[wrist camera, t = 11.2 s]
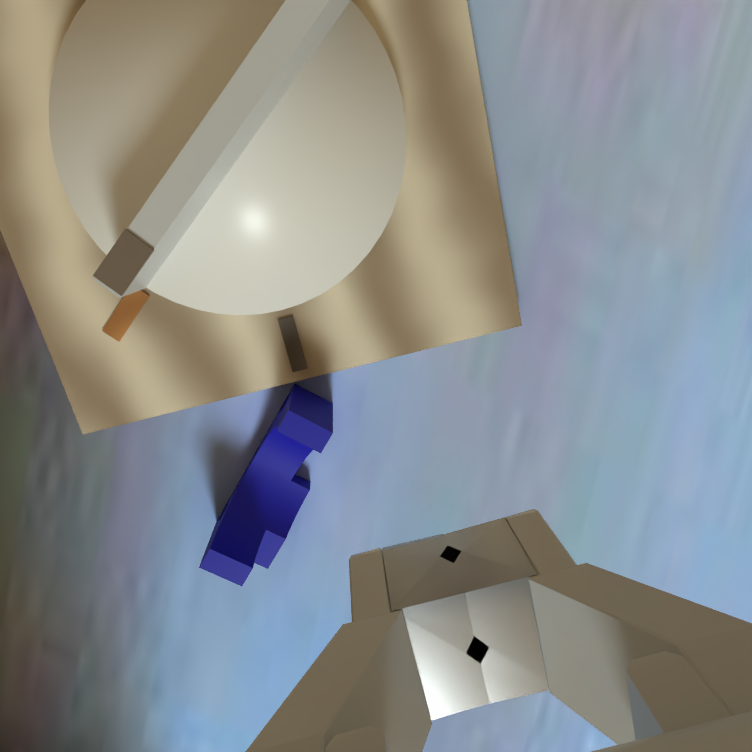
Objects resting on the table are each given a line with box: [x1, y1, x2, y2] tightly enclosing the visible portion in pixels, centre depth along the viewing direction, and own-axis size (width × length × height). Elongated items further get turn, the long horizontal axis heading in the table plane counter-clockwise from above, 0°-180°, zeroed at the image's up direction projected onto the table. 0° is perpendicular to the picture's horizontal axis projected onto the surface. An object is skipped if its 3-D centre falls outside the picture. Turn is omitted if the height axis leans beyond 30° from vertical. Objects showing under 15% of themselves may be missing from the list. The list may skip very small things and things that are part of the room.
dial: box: [49, 0, 407, 315], centre depth 32 cm, size 20×20×6 cm
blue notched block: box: [199, 384, 333, 586], centre depth 39 cm, size 12×4×6 cm, turn 150°
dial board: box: [0, 0, 522, 434], centre depth 35 cm, size 30×30×2 cm
